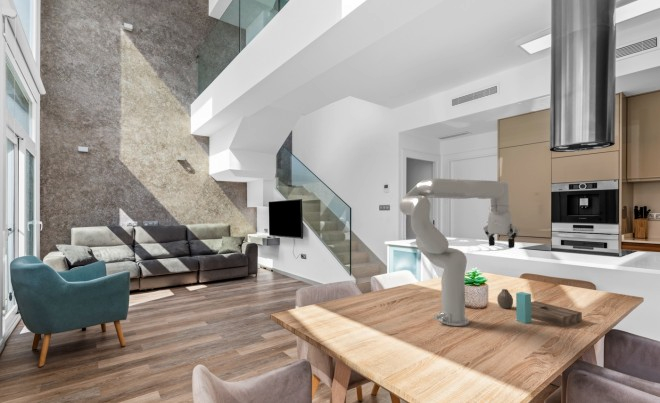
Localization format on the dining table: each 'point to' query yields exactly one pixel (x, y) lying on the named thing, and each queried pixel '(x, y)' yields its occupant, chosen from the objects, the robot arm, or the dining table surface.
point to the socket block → (554, 314)
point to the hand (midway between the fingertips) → (501, 246)
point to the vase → (505, 299)
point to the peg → (523, 307)
